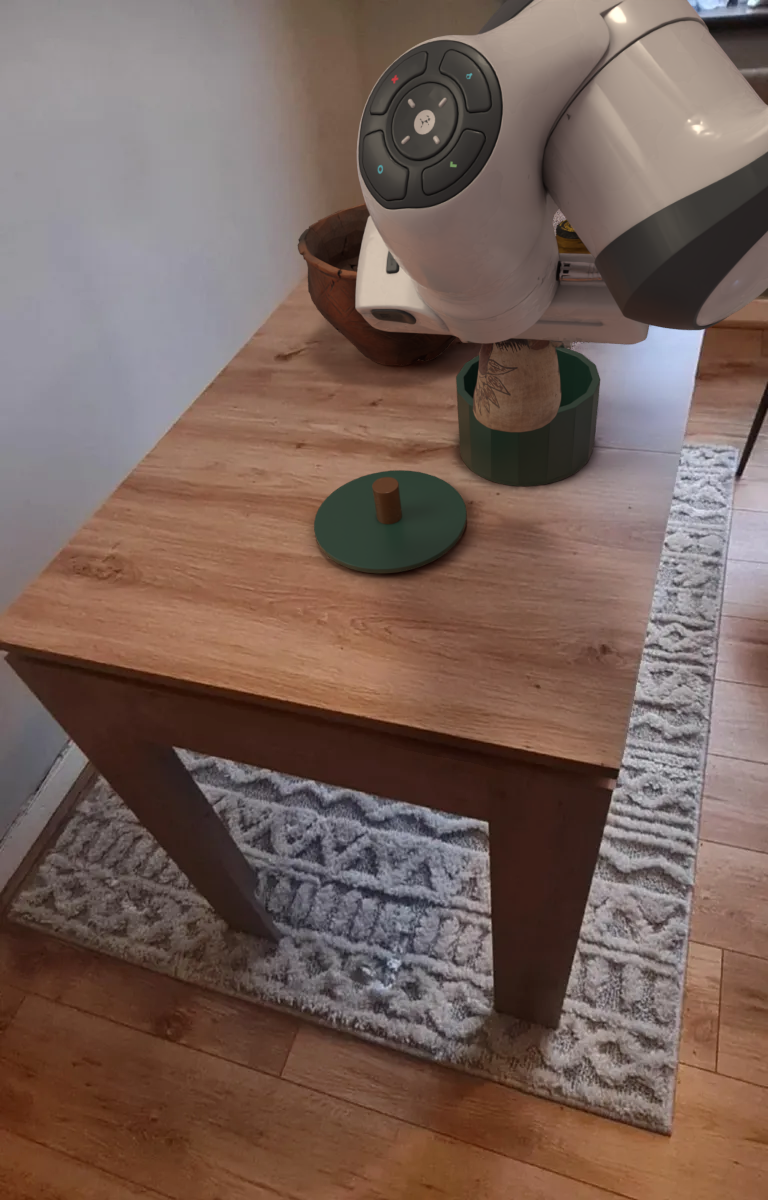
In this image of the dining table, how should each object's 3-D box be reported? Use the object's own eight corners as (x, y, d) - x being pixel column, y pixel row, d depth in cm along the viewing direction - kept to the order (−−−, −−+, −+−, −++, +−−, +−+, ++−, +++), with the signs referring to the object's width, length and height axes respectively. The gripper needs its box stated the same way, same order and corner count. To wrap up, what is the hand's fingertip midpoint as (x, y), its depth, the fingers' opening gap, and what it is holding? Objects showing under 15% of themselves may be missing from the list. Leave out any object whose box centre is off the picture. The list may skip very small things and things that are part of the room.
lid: (498, 517, 81) (498, 476, 77) (388, 602, 74) (382, 561, 70) (392, 461, 90) (387, 422, 86) (285, 532, 83) (275, 492, 79)
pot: (619, 438, 88) (628, 369, 82) (535, 504, 82) (537, 434, 76) (517, 396, 96) (517, 330, 90) (433, 453, 90) (427, 386, 84)
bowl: (513, 302, 113) (513, 189, 103) (480, 395, 97) (476, 273, 86) (347, 299, 120) (332, 193, 109) (291, 386, 104) (266, 271, 93)
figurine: (518, 378, 71) (522, 241, 62) (577, 410, 66) (590, 267, 58) (457, 410, 68) (452, 272, 60) (514, 444, 64) (517, 301, 55)
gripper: (668, 216, 47) (660, 300, 60) (345, 213, 53) (402, 291, 66) (651, 324, 47) (647, 384, 60) (332, 309, 53) (391, 367, 66)
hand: (517, 335), depth 63 cm, fingers closed on figurine, 6 cm apart
